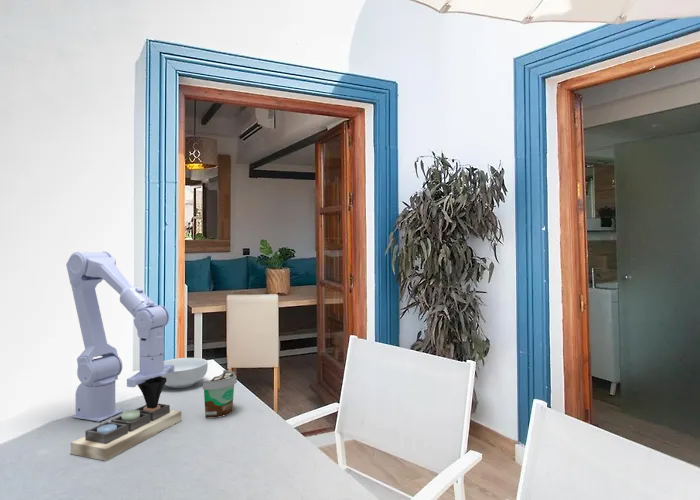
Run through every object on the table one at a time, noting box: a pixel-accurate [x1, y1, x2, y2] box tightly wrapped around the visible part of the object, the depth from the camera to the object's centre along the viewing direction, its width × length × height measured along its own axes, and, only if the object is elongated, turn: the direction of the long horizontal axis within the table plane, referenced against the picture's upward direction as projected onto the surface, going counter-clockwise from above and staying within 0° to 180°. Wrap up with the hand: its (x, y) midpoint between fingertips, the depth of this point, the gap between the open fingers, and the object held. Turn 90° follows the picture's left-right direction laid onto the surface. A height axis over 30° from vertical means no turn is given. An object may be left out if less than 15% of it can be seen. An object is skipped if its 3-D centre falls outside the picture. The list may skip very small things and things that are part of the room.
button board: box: [70, 403, 182, 462], centre depth 112 cm, size 10×24×4 cm, turn 161°
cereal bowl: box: [162, 357, 209, 389], centre depth 153 cm, size 17×17×7 cm
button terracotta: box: [143, 405, 160, 412], centre depth 119 cm, size 4×4×2 cm
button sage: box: [121, 409, 140, 422], centre depth 112 cm, size 4×4×2 cm
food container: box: [202, 369, 238, 418], centre depth 128 cm, size 12×6×10 cm, turn 168°
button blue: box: [97, 424, 117, 433], centre depth 105 cm, size 4×4×2 cm
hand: (152, 407), depth 119 cm, fingers closed, pressing on button terracotta
